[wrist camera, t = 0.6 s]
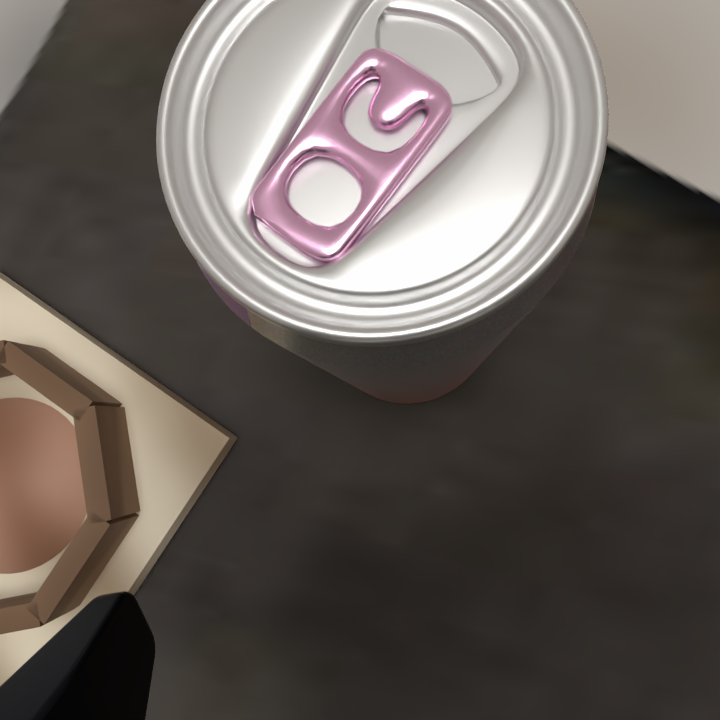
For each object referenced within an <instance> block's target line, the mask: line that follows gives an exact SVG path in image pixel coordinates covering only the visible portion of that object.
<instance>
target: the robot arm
mask: <svg viewBox="0 0 720 720" xmlns="http://www.w3.org/2000/svg"><path fill="white" fill-rule="evenodd" d="M154 658H155V641H154V637H153V634H152V632H151V630H150V627H149V625H148V623H147V621H146V619H145V617H144V615H143V613H142V611H141V609H140V607H139V604H138V602H137V600H136V598H135V597H134V595H132V594H131V593H130V592H126V591H122V592H116V593H110V594H104V595H100V596H97V597H95V598H94V599H93V600H91V601H90V602H89V603H88V604H87V605H86V606H85V607H84V608H83V609H82V610H81V611H80V612H79V613H78V614H76V615H75V616H74V617H73V618H72V619H71V620H70V621H69V622H68V623H67V624H66V625H65V626H64V627H63V628H62V629H61V630H59V631H58V632H57V633H56V634H55V635H54V636H53V637H52V638H51V639H50V640H49V641H48V642H47V643H46V644H45V645H44V646H42V647H41V648H40V649H39V650H38V651H37V652H36V653H35V654H34V655H33V656H32V657H31V658H30V659H29V660H28V661H27V662H25V663H24V664H23V665H22V666H21V667H20V668H19V669H18V670H17V671H16V672H15V673H14V674H13V675H12V676H11V677H10V678H8V679H7V680H6V681H5V682H4V683H3V684H2V685H1V686H0V720H145V717H146V710H147V704H148V697H149V691H150V684H151V678H152V671H153V665H154Z"/></svg>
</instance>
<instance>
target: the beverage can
mask: <svg viewBox="0 0 720 720" xmlns="http://www.w3.org/2000/svg"><path fill="white" fill-rule="evenodd" d="M608 116H609V113H608V97H607V89H606V82H605V77H604V73H603V68H602V64H601V60H600V57H599V54H598V51H597V48H596V45H595V43H594V40H593V38H592V36H591V33H590V31H589V29H588V27H587V25H586V23H585V22H584V20H583V18H582V16H581V14H580V12H579V11H578V9H577V8H576V6H575V5H574V3H573V2H572V0H207V1H206V2H205V3H204V4H203V6H202V7H201V8H200V10H199V11H198V12H197V14H196V15H195V17H194V18H193V20H192V21H191V23H190V25H189V26H188V28H187V29H186V31H185V33H184V35H183V37H182V39H181V41H180V42H179V44H178V46H177V49H176V51H175V53H174V56H173V58H172V60H171V63H170V66H169V69H168V71H167V74H166V78H165V81H164V85H163V89H162V93H161V98H160V104H159V109H158V118H157V133H156V146H157V161H158V169H159V175H160V180H161V185H162V190H163V193H164V196H165V200H166V203H167V206H168V209H169V211H170V214H171V216H172V219H173V221H174V223H175V225H176V227H177V229H178V231H179V233H180V236H181V237H182V239H183V241H184V242H185V244H186V246H187V247H188V249H189V251H190V252H191V254H192V255H193V256H194V258H195V259H196V261H197V263H198V265H199V267H200V269H201V270H202V272H203V274H204V275H205V277H206V279H207V280H208V282H209V283H210V285H211V286H212V287H213V289H214V290H215V291H216V293H217V294H218V295H219V296H220V298H221V299H222V300H223V301H224V302H225V303H226V305H227V306H228V307H229V308H230V309H231V310H232V311H233V312H234V313H235V314H236V315H237V316H238V317H240V318H241V319H242V320H243V321H244V322H246V323H247V324H248V325H249V326H250V327H252V328H253V329H254V330H256V331H257V332H259V333H260V334H261V335H263V336H264V337H266V338H268V339H269V340H271V341H273V342H274V343H276V344H278V345H280V346H281V347H283V348H285V349H287V350H289V351H291V352H292V353H294V354H296V355H298V356H300V357H301V358H303V359H305V360H307V361H309V362H310V363H312V364H314V365H316V366H318V367H320V368H321V369H323V370H325V371H327V372H329V373H330V374H332V375H334V376H336V377H338V378H339V379H341V380H343V381H345V382H347V383H349V384H350V385H352V386H354V387H356V388H358V389H359V390H361V391H363V392H365V393H367V394H369V395H371V396H373V397H375V398H378V399H381V400H384V401H388V402H392V403H400V404H414V403H422V402H427V401H431V400H434V399H437V398H439V397H441V396H444V395H446V394H448V393H449V392H451V391H453V390H454V389H456V388H457V387H458V386H460V385H461V384H462V383H463V382H464V381H466V380H467V378H468V377H469V376H470V375H471V374H472V373H473V372H474V371H475V370H476V369H477V368H478V367H479V366H480V365H481V364H482V363H483V361H484V360H485V359H486V358H487V357H488V356H489V355H490V354H491V353H492V352H493V351H494V350H495V349H496V348H497V346H498V345H499V344H500V343H501V342H502V341H503V340H504V339H505V338H506V337H507V336H508V335H509V334H510V333H511V331H512V330H513V329H514V328H515V327H516V326H517V325H518V324H519V323H520V322H521V321H522V320H523V319H524V317H525V316H526V315H527V314H528V313H529V312H530V311H531V310H532V309H533V308H534V307H535V306H536V305H537V304H538V302H539V301H540V300H541V299H542V298H543V297H544V296H545V295H546V294H547V293H548V291H549V290H550V289H551V288H552V287H553V285H554V284H555V283H556V282H557V280H558V279H559V277H560V276H561V275H562V273H563V272H564V270H565V269H566V267H567V266H568V264H569V262H570V261H571V259H572V257H573V256H574V254H575V252H576V250H577V248H578V246H579V244H580V242H581V240H582V237H583V235H584V232H585V230H586V227H587V225H588V222H589V219H590V215H591V212H592V209H593V205H594V200H595V195H596V190H597V185H598V181H599V178H600V175H601V171H602V167H603V162H604V157H605V152H606V145H607V136H608Z"/></svg>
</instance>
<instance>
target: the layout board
mask: <svg viewBox="0 0 720 720" xmlns="http://www.w3.org/2000/svg"><path fill="white" fill-rule="evenodd" d="M237 438H238V437H237V436H235V435H234V434H232V433H231V432H229V431H228V430H226V429H225V428H224V427H222V426H221V425H219V424H218V423H216V422H215V421H214V420H212V419H211V418H209V417H208V416H206V415H205V414H203V413H202V412H201V411H199V410H198V409H196V408H195V407H193V406H192V405H191V404H189V403H188V402H186V401H185V400H183V399H182V398H181V397H179V396H178V395H176V394H175V393H173V392H172V391H170V390H169V389H168V388H166V387H165V386H163V385H162V384H160V383H159V382H158V381H156V380H155V379H153V378H152V377H150V376H149V375H147V374H146V373H145V372H143V371H142V370H140V369H139V368H137V367H136V366H135V365H133V364H132V363H130V362H129V361H127V360H126V359H124V358H123V357H122V356H120V355H119V354H117V353H116V352H114V351H113V350H112V349H110V348H109V347H107V346H106V345H104V344H103V343H102V342H100V341H99V340H97V339H96V338H94V337H93V336H91V335H90V334H89V333H87V332H86V331H84V330H83V329H81V328H80V327H79V326H77V325H76V324H74V323H73V322H71V321H70V320H68V319H67V318H66V317H64V316H63V315H61V314H60V313H58V312H57V311H56V310H54V309H53V308H51V307H50V306H48V305H47V304H46V303H44V302H43V301H41V300H40V299H38V298H37V297H35V296H34V295H33V294H31V293H30V292H28V291H27V290H25V289H24V288H23V287H21V286H20V285H18V284H17V283H15V282H14V281H12V280H11V279H10V278H8V277H7V276H5V275H4V274H2V273H1V272H0V686H1V685H2V684H3V683H4V682H5V681H6V680H7V679H8V678H10V677H11V676H12V675H13V674H14V673H15V672H16V671H17V670H18V669H19V668H20V667H21V666H22V665H23V664H24V663H25V662H27V661H28V660H29V659H30V658H31V657H32V656H33V655H34V654H35V653H36V652H37V651H38V650H39V649H40V648H41V647H42V646H44V645H45V644H46V643H47V642H48V641H49V640H50V639H51V638H52V637H53V636H54V635H55V634H56V633H57V632H58V631H59V630H61V629H62V628H63V627H64V626H65V625H66V624H67V623H68V622H69V621H70V620H71V619H72V618H73V617H74V616H75V615H76V614H78V613H79V612H80V611H81V610H82V609H83V608H84V607H85V606H86V605H87V604H88V603H89V602H90V601H91V600H93V599H94V598H95V597H97V596H100V595H104V594H110V593H116V592H122V591H126V592H130V593H131V594H132V595H135V593H136V592H137V590H138V589H139V587H140V586H141V584H142V583H143V581H144V580H145V578H146V576H147V575H148V573H149V572H150V570H151V569H152V567H153V566H154V564H155V563H156V561H157V560H158V558H159V557H160V555H161V554H162V552H163V551H164V549H165V548H166V546H167V545H168V543H169V542H170V540H171V539H172V537H173V536H174V534H175V532H176V531H177V529H178V528H179V526H180V525H181V523H182V522H183V520H184V519H185V517H186V516H187V514H188V513H189V511H190V510H191V508H192V507H193V505H194V504H195V502H196V501H197V499H198V498H199V496H200V495H201V493H202V492H203V490H204V488H205V487H206V485H207V484H208V482H209V481H210V479H211V478H212V476H213V475H214V473H215V472H216V470H217V469H218V467H219V466H220V464H221V463H222V461H223V460H224V458H225V457H226V455H227V454H228V452H229V451H230V449H231V448H232V446H233V444H234V443H235V441H236V440H237Z"/></svg>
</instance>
